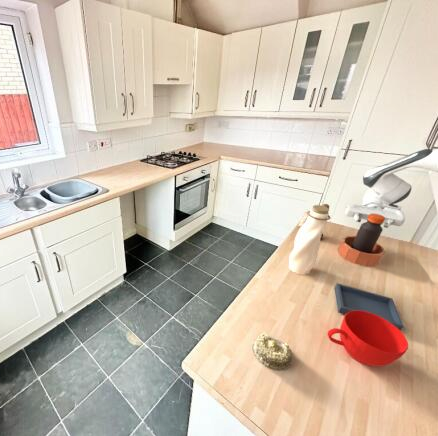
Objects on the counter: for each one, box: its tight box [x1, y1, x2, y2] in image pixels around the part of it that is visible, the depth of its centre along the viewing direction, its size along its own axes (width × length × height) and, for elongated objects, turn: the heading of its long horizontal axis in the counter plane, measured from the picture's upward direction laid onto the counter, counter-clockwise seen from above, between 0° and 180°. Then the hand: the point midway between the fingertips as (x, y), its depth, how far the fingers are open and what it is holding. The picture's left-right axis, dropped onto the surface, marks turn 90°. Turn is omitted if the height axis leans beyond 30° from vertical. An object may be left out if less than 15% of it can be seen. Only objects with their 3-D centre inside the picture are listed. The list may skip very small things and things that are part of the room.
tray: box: [334, 282, 405, 332], centre depth 81 cm, size 16×13×3 cm
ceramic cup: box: [327, 310, 409, 367], centre depth 66 cm, size 13×17×10 cm
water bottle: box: [288, 204, 331, 276], centre depth 94 cm, size 10×9×28 cm
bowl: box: [337, 235, 386, 267], centre depth 105 cm, size 14×14×6 cm
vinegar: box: [351, 214, 385, 254], centre depth 102 cm, size 7×7×20 cm
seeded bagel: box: [252, 332, 292, 371], centre depth 68 cm, size 10×10×5 cm
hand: (372, 223), depth 107 cm, fingers open, 8 cm apart
